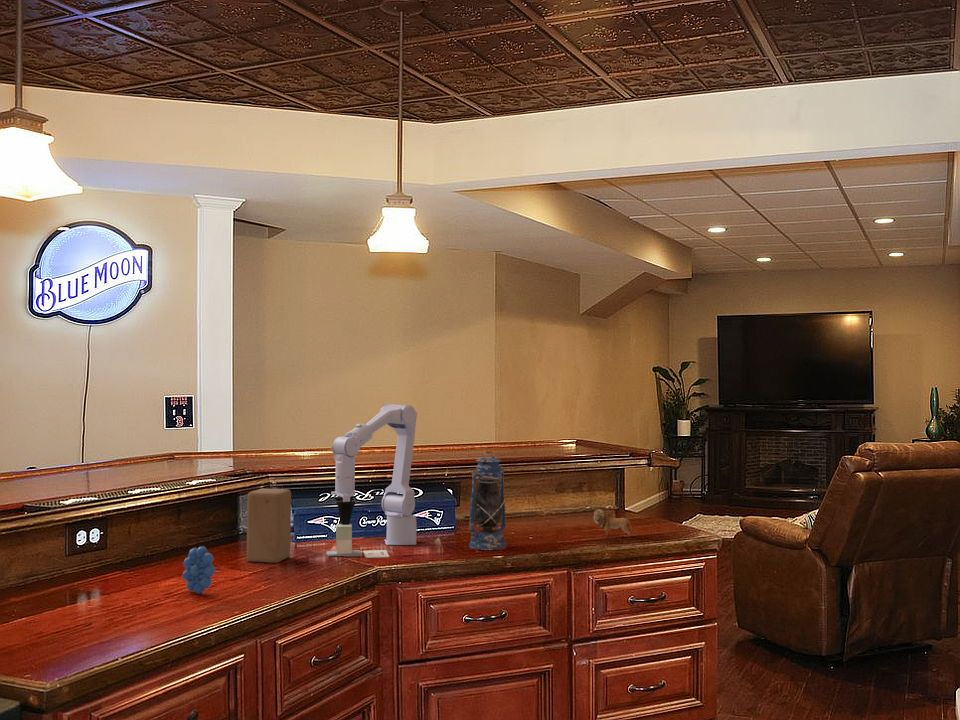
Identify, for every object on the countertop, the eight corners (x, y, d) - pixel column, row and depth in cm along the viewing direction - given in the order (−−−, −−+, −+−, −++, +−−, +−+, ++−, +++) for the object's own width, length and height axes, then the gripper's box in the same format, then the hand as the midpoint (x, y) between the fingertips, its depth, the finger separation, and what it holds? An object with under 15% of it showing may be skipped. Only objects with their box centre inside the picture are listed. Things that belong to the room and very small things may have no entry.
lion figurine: (591, 537, 333) (592, 510, 333) (595, 534, 338) (595, 507, 338) (635, 540, 328) (636, 512, 328) (638, 537, 333) (638, 510, 333)
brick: (351, 550, 300) (351, 537, 300) (351, 553, 296) (351, 540, 296) (336, 550, 300) (336, 537, 299) (336, 553, 295) (336, 540, 295)
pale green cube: (351, 537, 300) (351, 523, 300) (351, 539, 296) (351, 526, 296) (336, 537, 299) (336, 524, 299) (336, 540, 295) (336, 526, 295)
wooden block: (277, 564, 283) (278, 493, 283) (245, 562, 285) (246, 492, 285) (291, 557, 293) (292, 489, 293) (259, 555, 295) (260, 487, 295)
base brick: (359, 555, 301) (359, 550, 301) (361, 558, 296) (361, 553, 296) (326, 556, 299) (326, 551, 299) (327, 559, 294) (328, 554, 294)
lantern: (483, 553, 303) (484, 454, 302) (456, 547, 311) (457, 451, 311) (518, 547, 313) (520, 451, 313) (491, 541, 322) (492, 448, 322)
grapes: (227, 594, 247) (228, 546, 247) (204, 599, 241) (205, 549, 241) (198, 587, 254) (199, 540, 254) (175, 591, 249) (176, 543, 249)
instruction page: (385, 550, 304) (386, 549, 304) (389, 557, 295) (389, 556, 295) (362, 551, 303) (363, 550, 303) (365, 557, 293) (365, 556, 293)
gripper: (330, 474, 304) (329, 518, 304) (332, 480, 289) (332, 527, 290) (353, 473, 305) (353, 518, 305) (357, 479, 291) (356, 526, 291)
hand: (344, 522), depth 297 cm, fingers open, 7 cm apart
